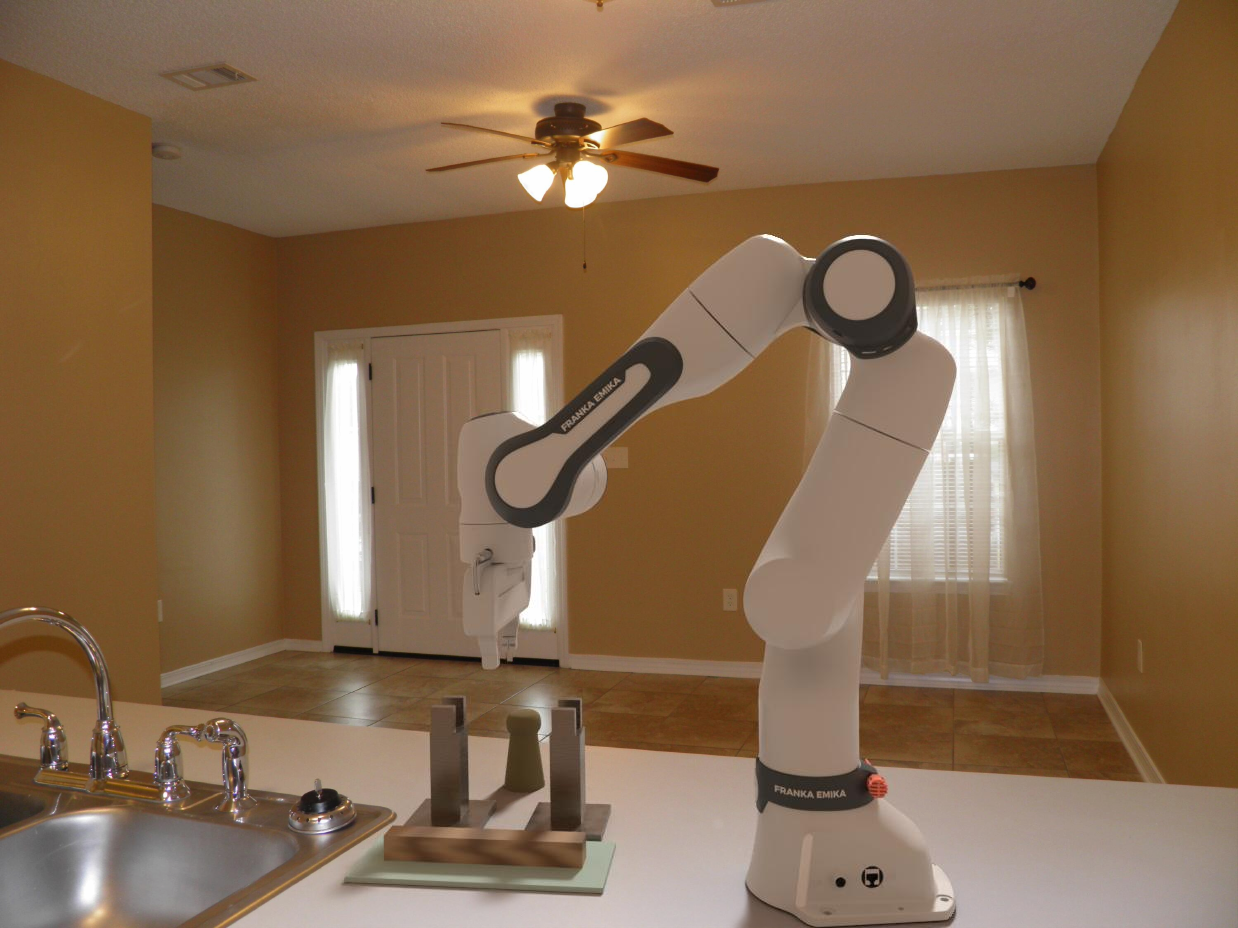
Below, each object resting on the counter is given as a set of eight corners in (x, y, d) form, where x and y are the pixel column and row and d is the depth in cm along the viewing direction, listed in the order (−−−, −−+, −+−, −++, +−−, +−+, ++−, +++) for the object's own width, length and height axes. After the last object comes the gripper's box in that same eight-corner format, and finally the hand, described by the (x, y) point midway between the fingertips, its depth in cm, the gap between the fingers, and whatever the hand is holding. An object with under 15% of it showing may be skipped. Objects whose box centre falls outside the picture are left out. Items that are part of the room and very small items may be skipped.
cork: (525, 795, 132) (524, 718, 132) (495, 786, 136) (494, 712, 135) (553, 782, 137) (552, 709, 137) (523, 774, 140) (522, 702, 140)
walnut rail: (586, 856, 110) (585, 832, 110) (582, 868, 107) (582, 842, 107) (393, 849, 113) (392, 825, 113) (384, 860, 110) (383, 835, 110)
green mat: (615, 846, 115) (615, 841, 115) (603, 893, 103) (602, 887, 103) (383, 837, 118) (383, 833, 118) (344, 881, 106) (344, 876, 106)
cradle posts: (610, 811, 126) (609, 694, 125) (601, 842, 116) (599, 715, 115) (426, 805, 129) (424, 690, 128) (401, 835, 119) (399, 711, 119)
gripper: (502, 554, 101) (506, 679, 102) (538, 537, 122) (541, 641, 122) (446, 555, 102) (451, 680, 102) (491, 538, 122) (495, 642, 123)
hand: (500, 658), depth 112 cm, fingers open, 8 cm apart
